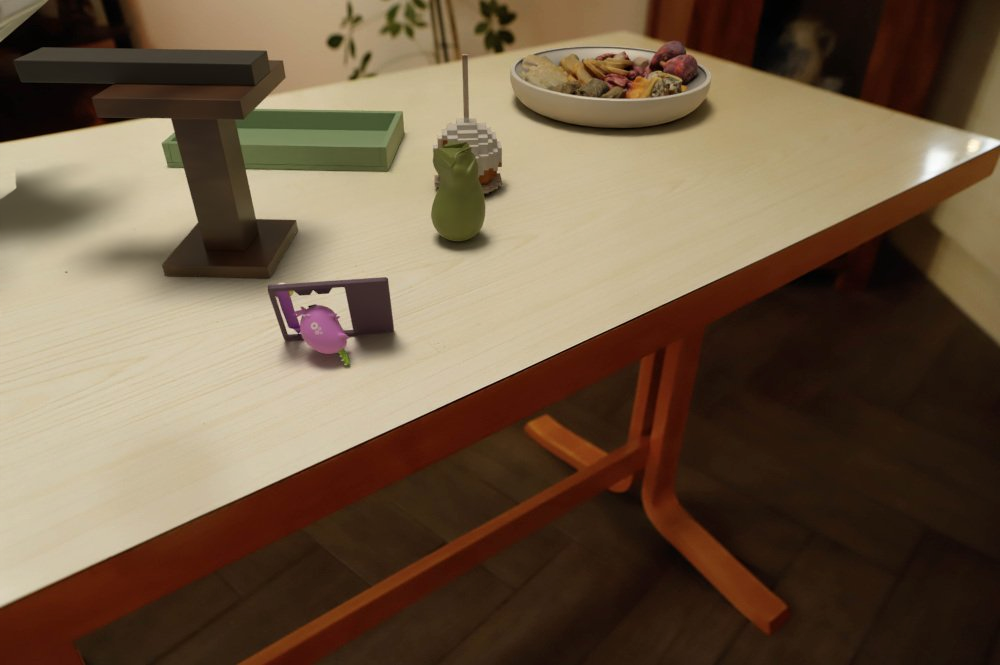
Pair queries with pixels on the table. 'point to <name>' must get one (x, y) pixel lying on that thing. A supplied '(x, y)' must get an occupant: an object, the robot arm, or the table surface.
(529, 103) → the bowl
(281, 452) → the table surface
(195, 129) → the walnut stand
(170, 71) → the black rectangular bar
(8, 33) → the robot arm
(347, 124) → the green tray
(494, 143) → the decorative ornament
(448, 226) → the green rounded figure
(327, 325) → the pop-out character card
